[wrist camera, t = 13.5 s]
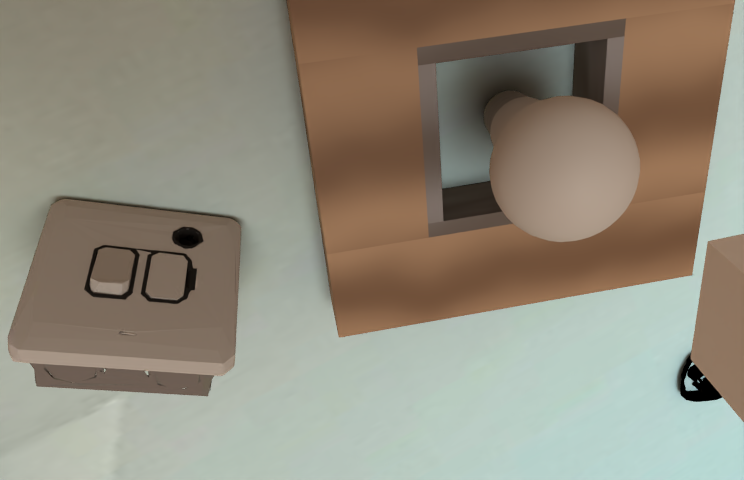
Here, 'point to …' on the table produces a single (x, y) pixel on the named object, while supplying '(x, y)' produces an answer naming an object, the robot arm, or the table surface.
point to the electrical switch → (129, 300)
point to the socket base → (476, 201)
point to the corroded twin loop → (697, 385)
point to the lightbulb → (560, 164)
